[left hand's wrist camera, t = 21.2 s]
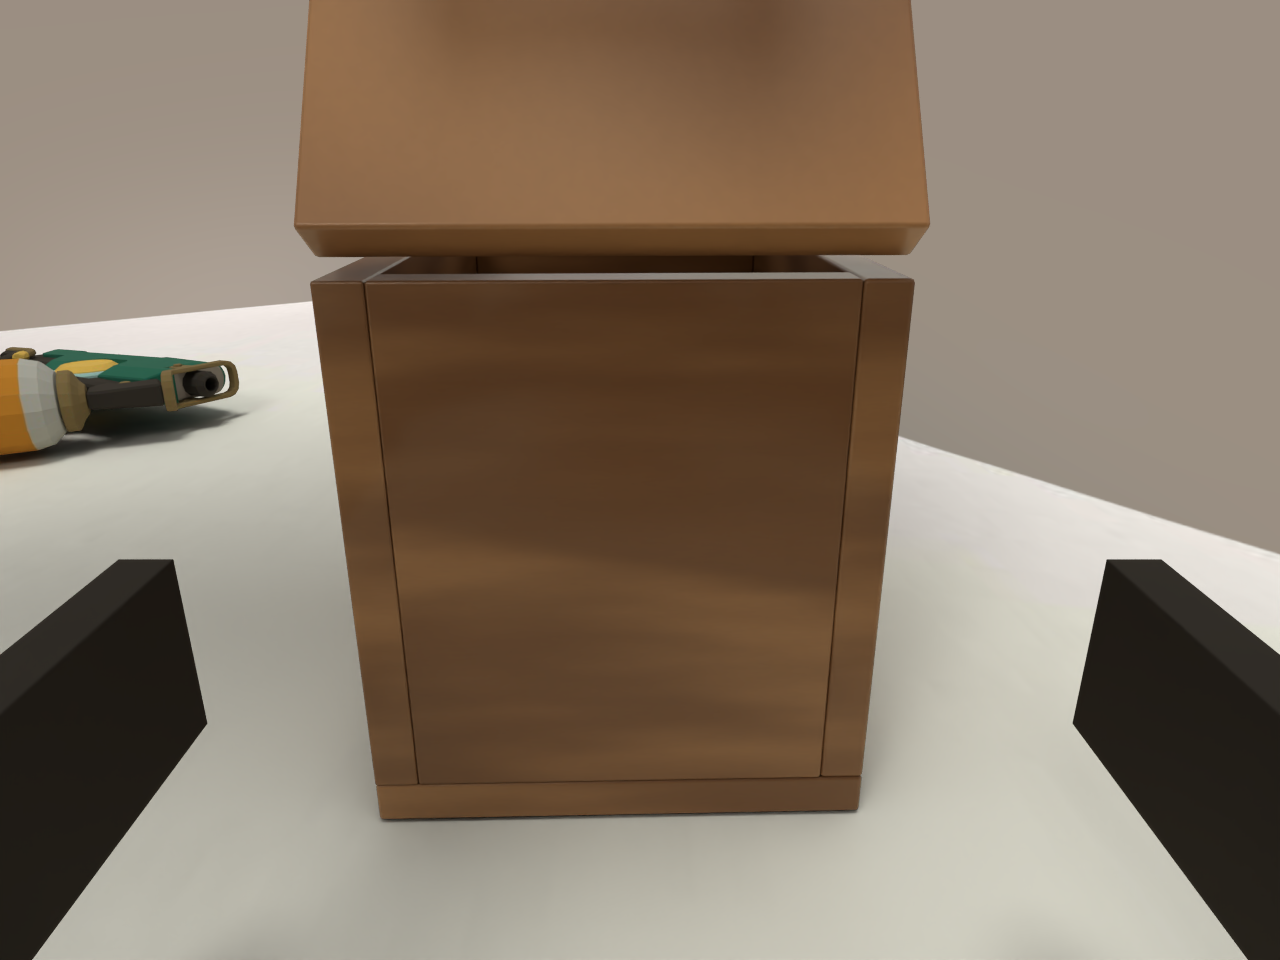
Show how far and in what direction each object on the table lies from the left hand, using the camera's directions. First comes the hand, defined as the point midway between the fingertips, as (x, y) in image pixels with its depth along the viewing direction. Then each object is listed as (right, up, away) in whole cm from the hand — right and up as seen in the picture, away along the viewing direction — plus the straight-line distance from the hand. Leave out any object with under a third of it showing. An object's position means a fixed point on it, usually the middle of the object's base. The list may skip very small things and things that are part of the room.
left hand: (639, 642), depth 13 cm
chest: (-1, -2, +12) cm, 12 cm away
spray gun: (-30, +5, +32) cm, 44 cm away
